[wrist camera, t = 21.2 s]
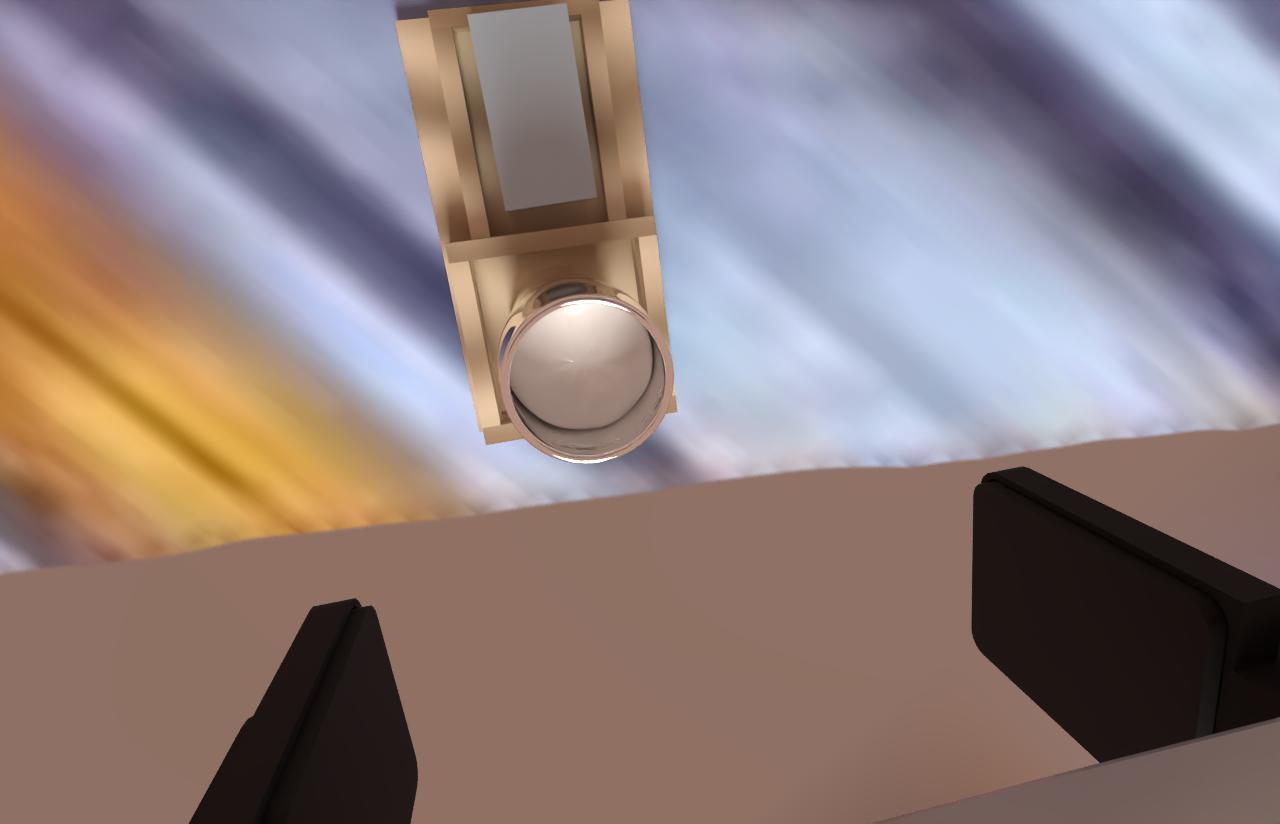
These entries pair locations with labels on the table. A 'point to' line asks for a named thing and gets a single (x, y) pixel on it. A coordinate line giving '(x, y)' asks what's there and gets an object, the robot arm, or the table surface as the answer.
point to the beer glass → (582, 368)
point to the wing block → (533, 105)
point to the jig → (540, 237)
